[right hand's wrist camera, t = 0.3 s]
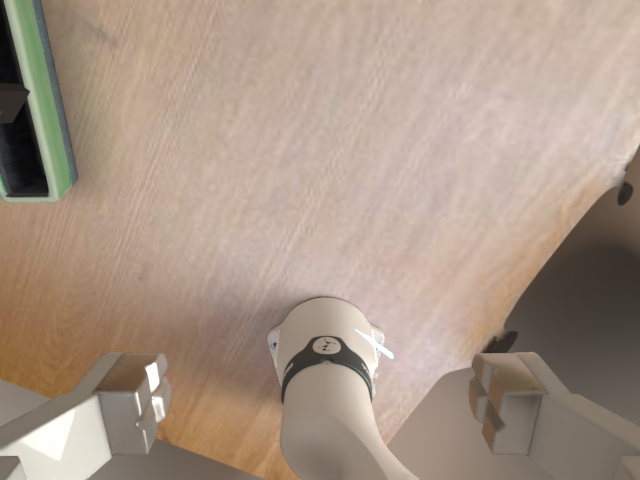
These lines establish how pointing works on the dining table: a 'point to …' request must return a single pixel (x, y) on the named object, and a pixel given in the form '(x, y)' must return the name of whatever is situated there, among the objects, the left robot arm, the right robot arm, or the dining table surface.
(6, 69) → the planter
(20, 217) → the dining table surface
